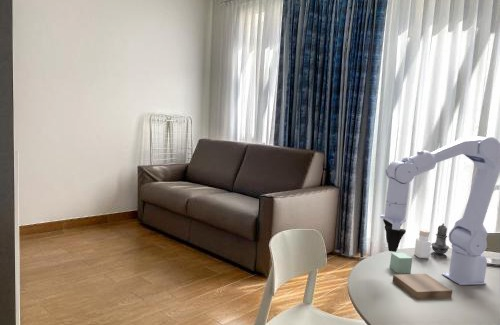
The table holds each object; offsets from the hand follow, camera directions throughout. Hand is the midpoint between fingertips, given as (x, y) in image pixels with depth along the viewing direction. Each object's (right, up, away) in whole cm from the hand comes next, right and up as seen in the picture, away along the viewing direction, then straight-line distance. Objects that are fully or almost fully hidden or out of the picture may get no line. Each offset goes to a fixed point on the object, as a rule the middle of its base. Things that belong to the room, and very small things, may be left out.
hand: (391, 246), depth 115 cm
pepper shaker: (+19, -9, +22) cm, 31 cm away
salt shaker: (+26, -9, +25) cm, 37 cm away
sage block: (+6, -9, +8) cm, 14 cm away
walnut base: (+7, -11, -5) cm, 14 cm away
